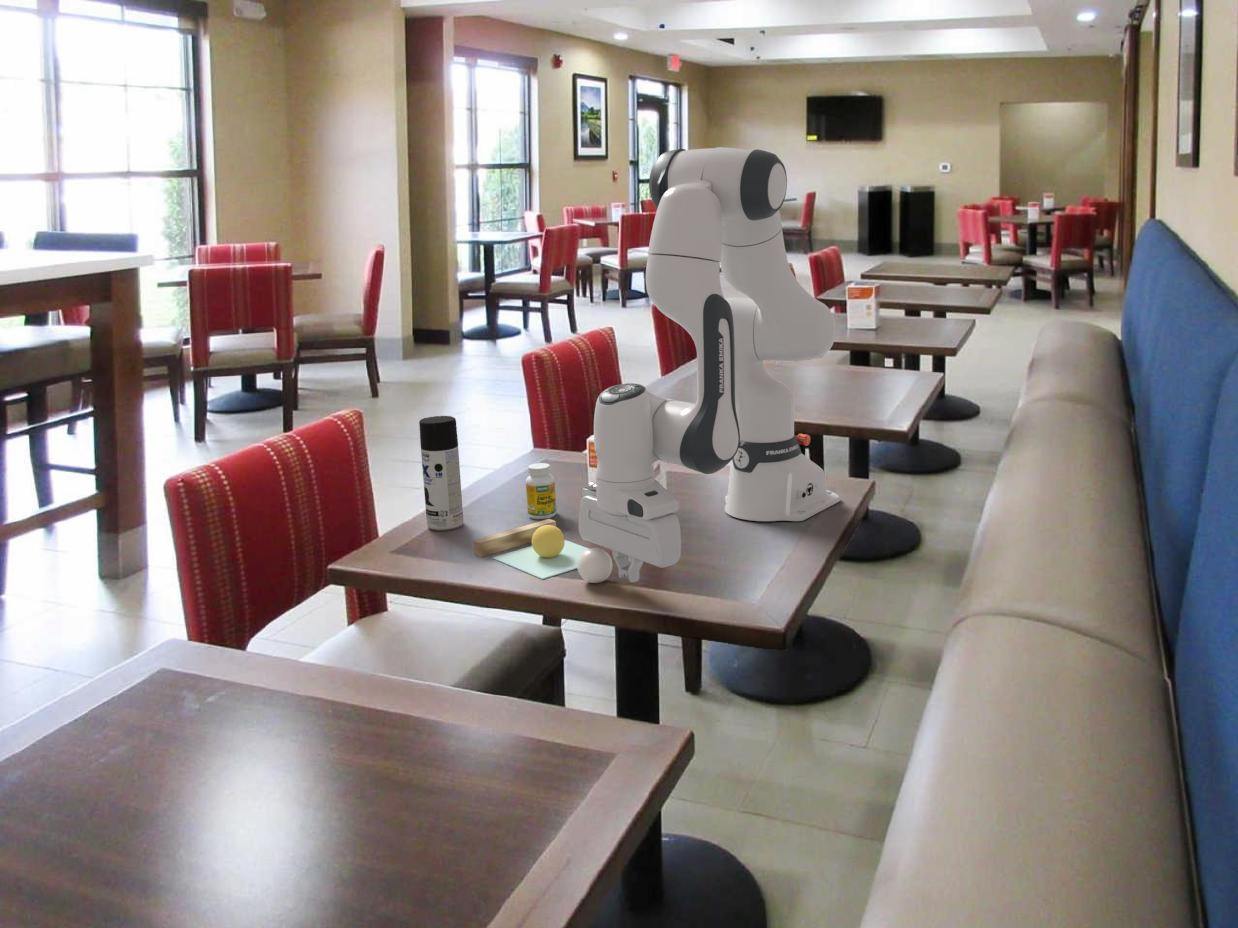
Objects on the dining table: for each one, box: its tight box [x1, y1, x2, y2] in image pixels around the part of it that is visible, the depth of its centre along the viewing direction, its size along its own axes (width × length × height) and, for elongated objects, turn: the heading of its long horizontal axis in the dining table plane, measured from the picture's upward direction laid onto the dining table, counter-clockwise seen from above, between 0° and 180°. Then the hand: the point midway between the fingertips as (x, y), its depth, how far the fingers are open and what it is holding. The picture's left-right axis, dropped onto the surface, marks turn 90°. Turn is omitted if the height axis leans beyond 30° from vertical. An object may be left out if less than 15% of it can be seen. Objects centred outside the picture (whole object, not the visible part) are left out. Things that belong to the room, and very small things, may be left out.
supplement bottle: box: [525, 462, 557, 520], centre depth 215 cm, size 5×5×10 cm
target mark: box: [492, 539, 590, 581], centre depth 194 cm, size 14×14×1 cm
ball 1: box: [531, 525, 566, 558], centre depth 194 cm, size 6×6×6 cm
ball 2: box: [577, 547, 613, 584], centre depth 182 cm, size 6×6×6 cm
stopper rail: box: [472, 518, 557, 558], centre depth 201 cm, size 16×2×2 cm, turn 130°
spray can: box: [418, 415, 464, 532], centre depth 210 cm, size 7×7×20 cm
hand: (629, 579), depth 179 cm, fingers closed
